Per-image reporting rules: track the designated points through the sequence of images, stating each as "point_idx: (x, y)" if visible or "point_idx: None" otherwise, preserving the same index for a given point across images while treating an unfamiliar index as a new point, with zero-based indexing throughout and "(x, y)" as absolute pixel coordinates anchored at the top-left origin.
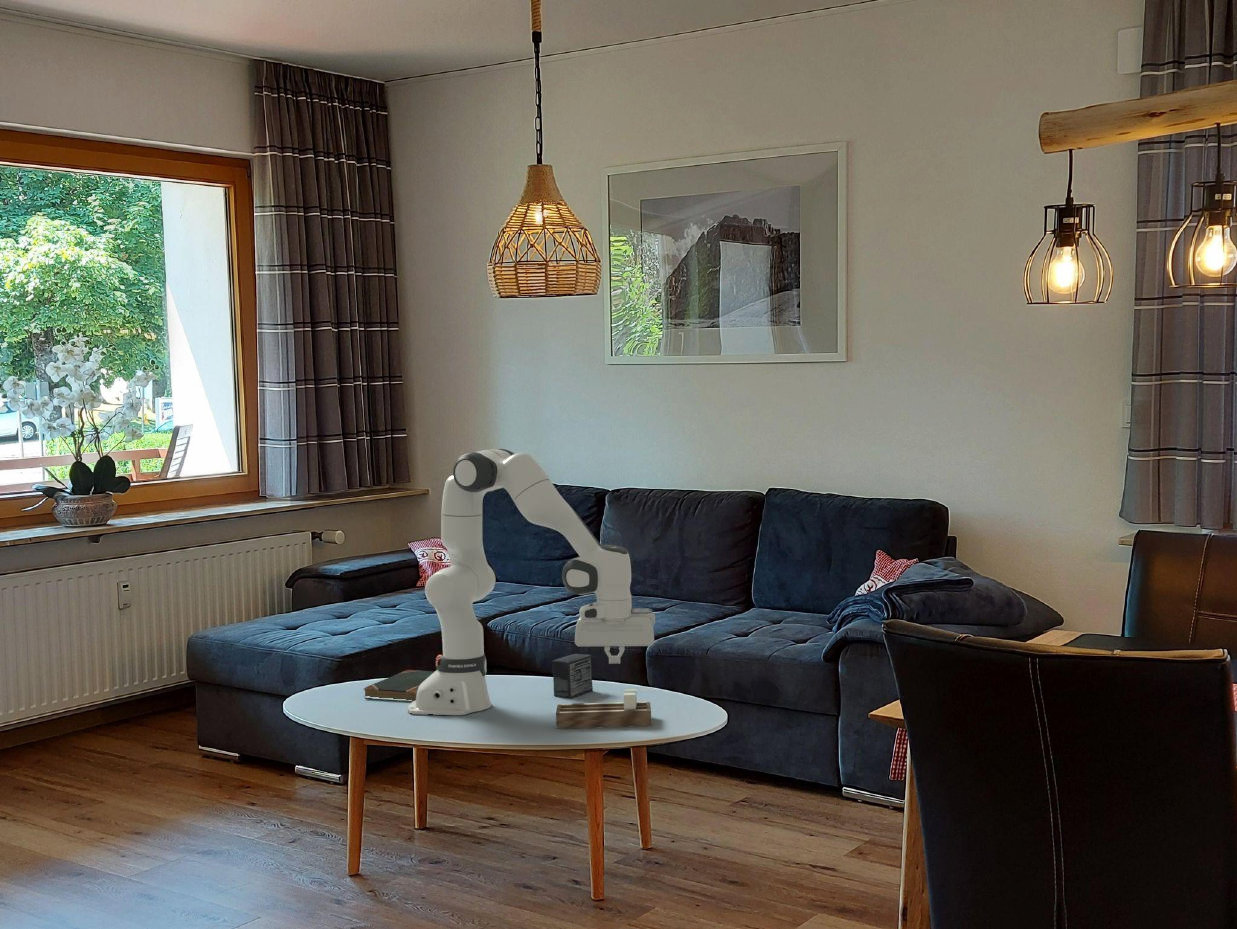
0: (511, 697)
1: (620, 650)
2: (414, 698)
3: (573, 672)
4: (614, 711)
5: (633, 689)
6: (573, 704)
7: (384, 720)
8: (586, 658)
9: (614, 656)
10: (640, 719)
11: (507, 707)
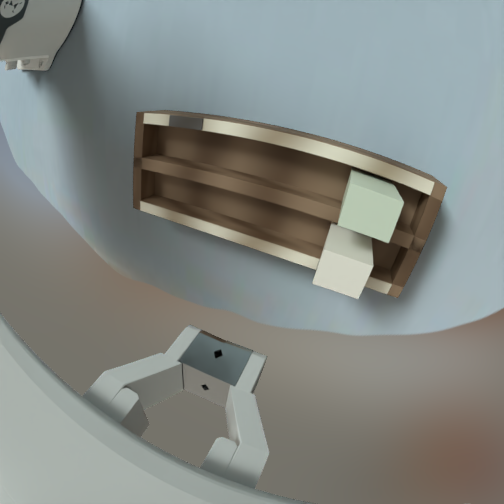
0: None
1: (236, 429)
2: None
3: None
4: (285, 259)
5: (388, 208)
6: (172, 126)
7: (10, 96)
8: None
9: (205, 382)
10: None
11: (98, 5)
